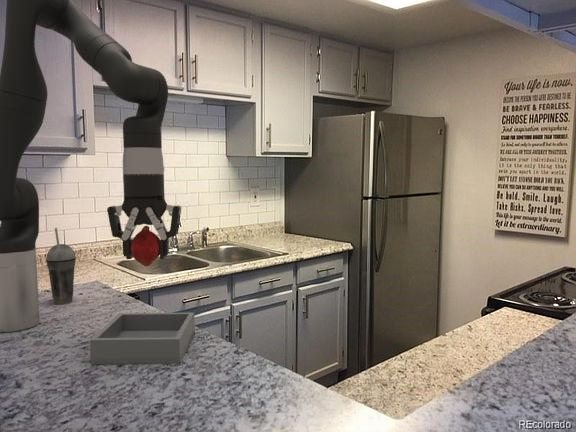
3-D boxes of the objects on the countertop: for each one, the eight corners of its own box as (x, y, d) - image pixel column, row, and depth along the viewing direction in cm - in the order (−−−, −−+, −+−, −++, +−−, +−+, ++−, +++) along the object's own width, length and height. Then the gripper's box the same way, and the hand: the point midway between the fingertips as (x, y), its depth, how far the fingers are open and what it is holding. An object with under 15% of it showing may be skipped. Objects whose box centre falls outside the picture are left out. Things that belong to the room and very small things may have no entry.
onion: (153, 269, 88) (151, 227, 88) (125, 269, 90) (123, 227, 89) (166, 263, 94) (165, 224, 93) (140, 263, 95) (139, 224, 94)
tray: (90, 364, 84) (89, 340, 84) (119, 333, 100) (119, 313, 100) (180, 363, 85) (179, 339, 84) (194, 332, 101) (194, 312, 100)
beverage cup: (84, 300, 126) (81, 226, 124) (61, 307, 120) (57, 229, 118) (64, 297, 129) (61, 225, 127) (41, 304, 123) (37, 228, 121)
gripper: (98, 172, 86) (102, 262, 88) (177, 172, 87) (180, 261, 88) (112, 172, 93) (115, 255, 95) (184, 172, 94) (186, 254, 96)
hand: (146, 258), depth 92 cm, fingers closed on onion, 6 cm apart
